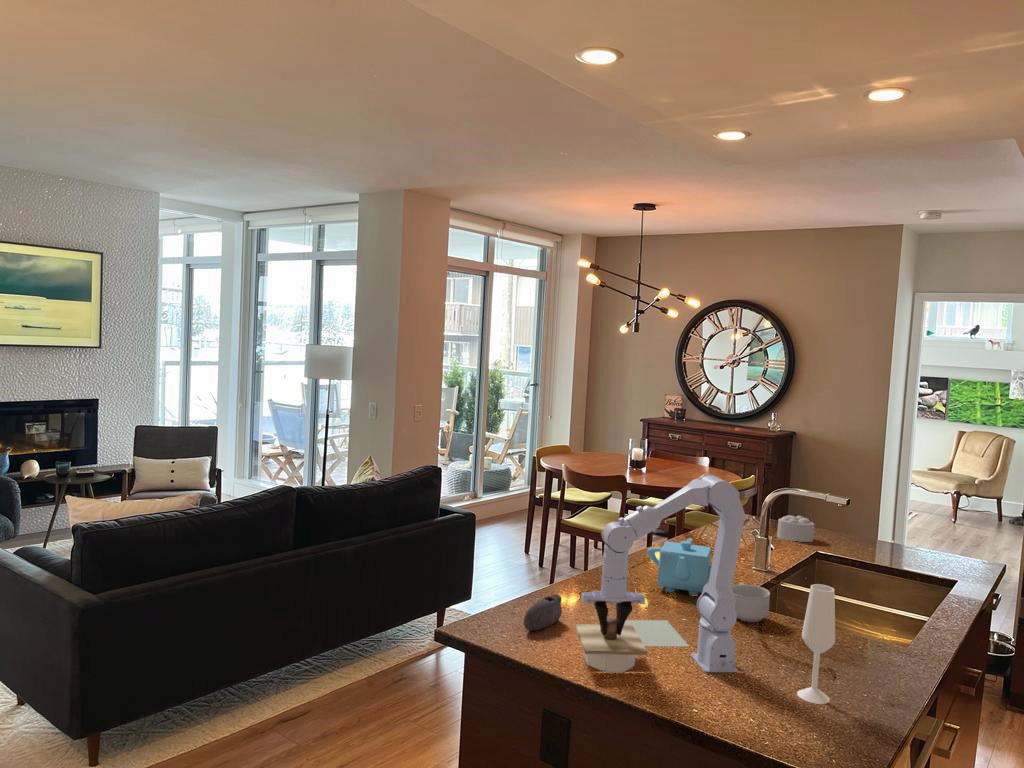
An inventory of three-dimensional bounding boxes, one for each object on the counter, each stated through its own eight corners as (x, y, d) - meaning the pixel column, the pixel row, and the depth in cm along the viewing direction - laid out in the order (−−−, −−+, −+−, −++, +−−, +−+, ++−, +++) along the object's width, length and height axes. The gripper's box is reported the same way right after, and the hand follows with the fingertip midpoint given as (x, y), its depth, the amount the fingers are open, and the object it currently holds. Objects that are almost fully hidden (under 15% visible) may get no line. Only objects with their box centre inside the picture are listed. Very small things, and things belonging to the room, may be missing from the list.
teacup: (770, 628, 208) (772, 598, 207) (728, 622, 210) (730, 593, 209) (764, 610, 221) (766, 582, 221) (724, 605, 224) (726, 578, 223)
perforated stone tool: (531, 637, 192) (533, 610, 192) (515, 631, 196) (516, 604, 195) (566, 622, 204) (568, 596, 204) (550, 616, 207) (552, 591, 207)
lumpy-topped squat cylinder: (784, 533, 314) (786, 512, 313) (817, 540, 305) (819, 518, 305) (774, 537, 306) (776, 516, 305) (807, 545, 297) (809, 522, 297)
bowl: (638, 673, 175) (640, 653, 175) (591, 673, 174) (592, 653, 173) (625, 653, 186) (626, 634, 186) (580, 653, 184) (581, 634, 184)
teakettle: (640, 583, 240) (643, 536, 239) (688, 577, 248) (691, 531, 247) (679, 604, 223) (683, 553, 222) (730, 597, 231) (733, 548, 230)
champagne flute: (799, 701, 166) (809, 591, 164) (794, 687, 172) (803, 581, 171) (833, 705, 164) (842, 594, 163) (826, 691, 171) (835, 584, 169)
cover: (647, 655, 173) (649, 634, 173) (585, 653, 172) (586, 633, 172) (632, 628, 187) (633, 609, 187) (574, 627, 186) (576, 607, 185)
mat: (689, 647, 191) (689, 646, 191) (622, 647, 189) (622, 646, 189) (666, 621, 208) (666, 620, 208) (604, 621, 206) (604, 619, 206)
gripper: (640, 570, 183) (636, 626, 184) (579, 569, 181) (576, 626, 182) (649, 580, 176) (645, 638, 177) (586, 579, 174) (582, 638, 175)
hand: (610, 633), depth 179 cm, fingers closed on cover, 3 cm apart
